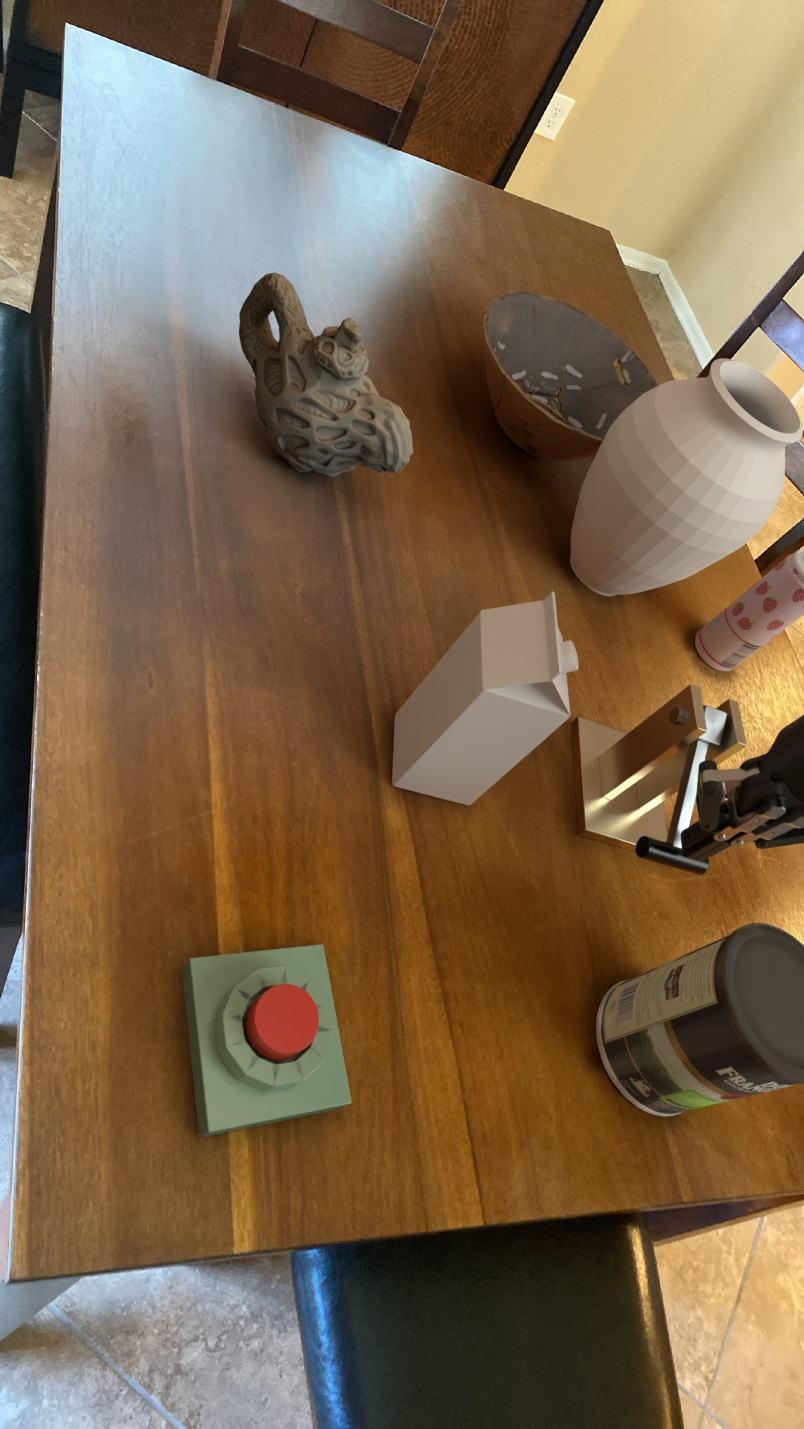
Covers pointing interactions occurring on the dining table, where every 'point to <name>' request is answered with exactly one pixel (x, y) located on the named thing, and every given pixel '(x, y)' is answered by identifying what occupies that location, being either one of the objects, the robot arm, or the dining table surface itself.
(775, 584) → the beverage can
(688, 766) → the lever handle
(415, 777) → the milk carton
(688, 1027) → the coffee can
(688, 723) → the lever bracket
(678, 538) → the vase
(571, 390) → the bowl
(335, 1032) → the button block
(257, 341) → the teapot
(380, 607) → the dining table surface
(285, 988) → the button
